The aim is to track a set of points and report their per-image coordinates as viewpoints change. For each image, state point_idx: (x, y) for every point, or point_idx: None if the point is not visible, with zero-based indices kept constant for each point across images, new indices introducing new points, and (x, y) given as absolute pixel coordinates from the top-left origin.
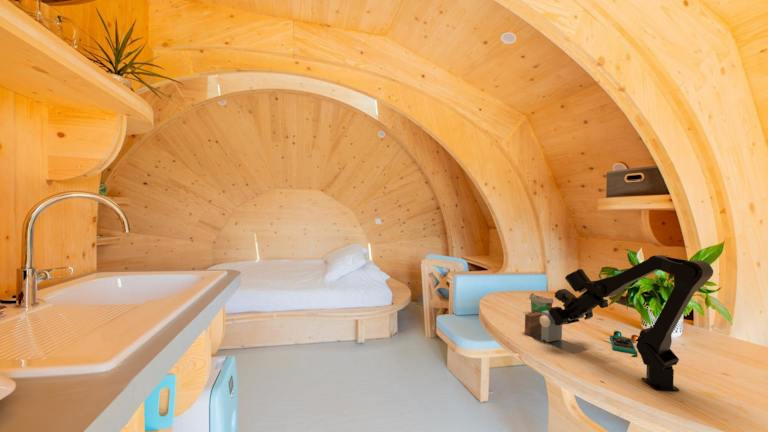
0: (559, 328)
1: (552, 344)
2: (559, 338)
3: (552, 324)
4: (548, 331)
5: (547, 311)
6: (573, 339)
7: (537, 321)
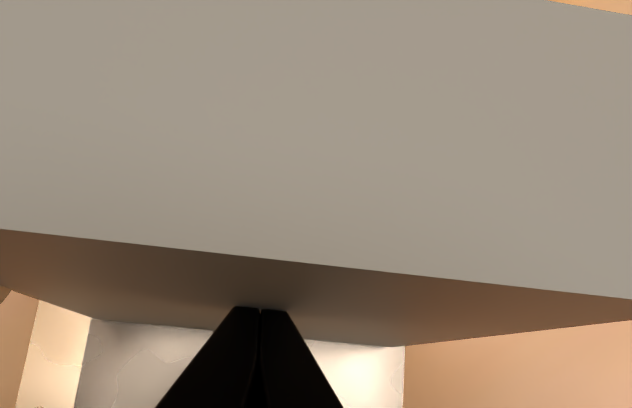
0: (379, 332)
1: (104, 381)
2: (346, 342)
3: (151, 300)
4: (48, 302)
5: (75, 14)
6: (602, 370)
7: None
